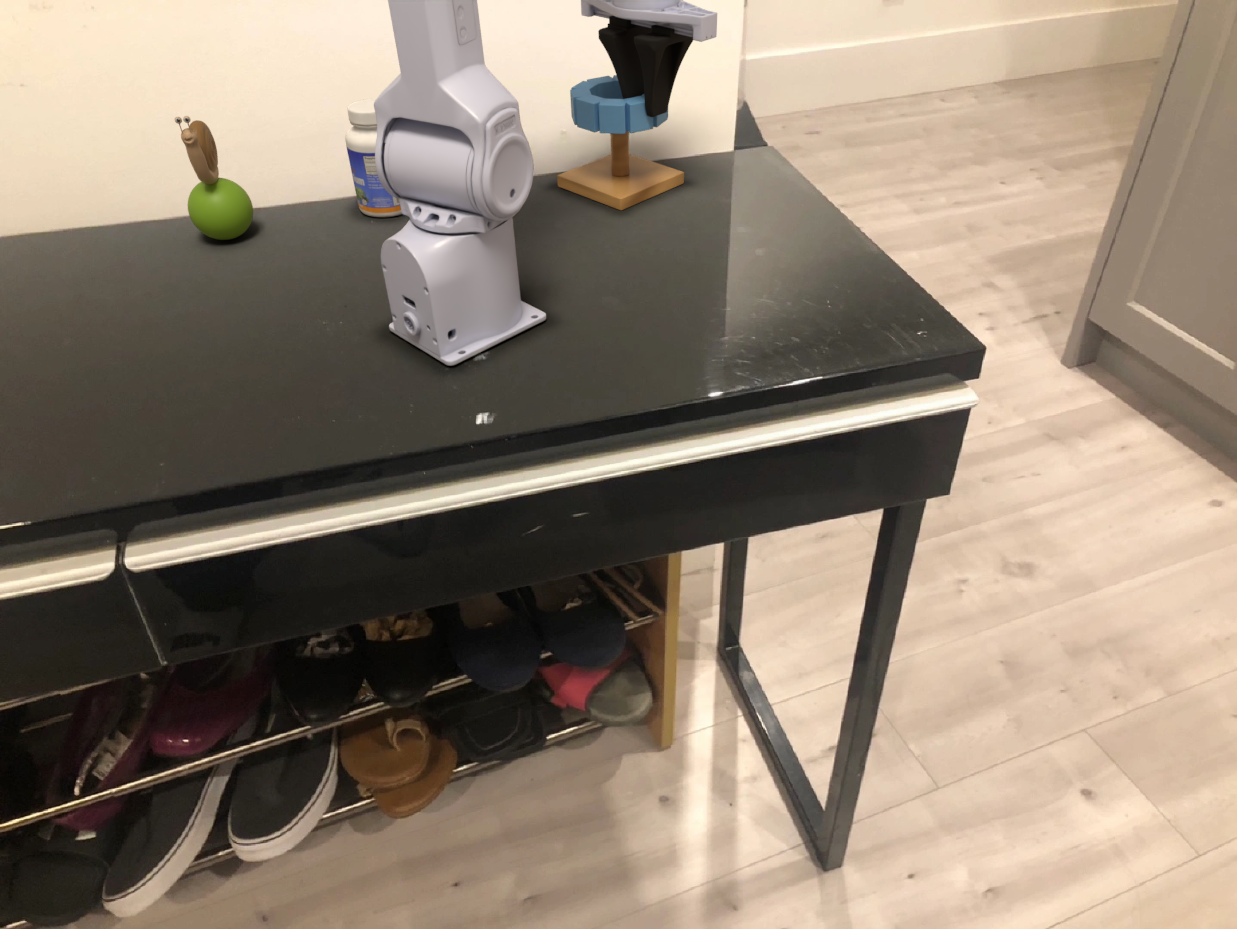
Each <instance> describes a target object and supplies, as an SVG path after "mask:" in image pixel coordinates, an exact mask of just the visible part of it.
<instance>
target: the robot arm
mask: <svg viewBox="0 0 1237 929" xmlns="http://www.w3.org/2000/svg"><path fill="white" fill-rule="evenodd" d="M387 2H388V8H389V14H390V20H391V25H392V26H391V27H392V31H393V36H394V42H395V48H396V54H397V60H398V65H399V72H400V73H399V74H398V75H397V76H396V77H395V78H394V79H393V80H392V81H391V82H390V83H389V84H388V85H387V87H385V89H384V90H382V91H381V93H380V94H379V95H378V96H377V97H376V98H375V99H376V100H375V102H374V109H375V114H376V121H377V139H376V147H375V164H376V170H377V174H378V177H379V180H380V182H381V184H382V186H383V187H384V189H385V190H386V191H387V192H388V193H389V194H390V195H392V196H393V197H395V198H397V199H399V201H400V206H401V212H402V214H401V215H403V216H407V217H408V218H409V219H408V221H407V222H406V224H404V226H403V227H402V228H401V229H400V230H399V231H397V232H396V233H395V234H393V235H392V236H390V237H388V238H386V240H384V242H382V245H381V248H380V264H381V269H382V275H383V280H384V285H385V289H386V295H387V300H388V304H389V310H390V314H391V319H392V322H390V323H389V325H388V329H389V331H390V332H391V333H393V334H395V335H396V336H398V337H400V338H401V339H403V340H404V341H406V342H408V343H410V344H411V345H413V346H415V347H416V348H418V349H420V350H421V351H423V352H424V353H426V354H428V355H429V356H430V357H432V358H435V359H436V360H438V361H439V362H441V363H442V364H443V365H446V366H448V367H449V366H450V367H452V366H456V365H458V364H460V363H462V362H464V361H466V360H468V359H470V358H472V357H474V356H476V355H478V354H480V353H481V352H484V351H486V350H488V349H491V348H492V347H494V346H496V345H498V344H501V343H502V342H505V341H507V340H508V339H511V338H512V337H514V336H517V335H518V334H521V333H522V332H525V331H526V330H529V329H530V328H533V327H534V326H536V325H538V324H540V323H543V322H544V321H546V320H547V313H546V312H545V311H542V310H541V309H539V308H537V307H535V306H532V305H531V304H529V303H526V302H525V301H523V300H522V297H521V288H520V278H519V267H518V259H517V257H518V256H517V249H516V241H515V240H516V239H515V238H516V237H515V230H514V220H513V218H514V217H515V216H516V215H517V213H520V211H521V209H522V207H524V206H523V205H524V204H525V203H526V201H527V199H528V197H529V195H530V192H531V189H532V185H533V182H534V181H533V180H534V172H535V171H534V170H535V168H534V165H535V164H534V163H535V162H534V156H533V153H532V149H531V144H530V142H529V140H528V138H527V136H526V134H525V132H524V129H523V125H522V120H521V115H520V104H519V102H518V100H517V98H516V97H515V96H514V95H513V94H512V93H511V92H510V90H508V88H506V87H505V85H504V84H503V83H502V82H501V81H500V80H499V79H498V78H497V77H496V76H495V75H494V74H493V73H492V72H491V71H490V69H489V68H488V67H487V66H486V64H485V54H484V46H483V39H482V31H481V23H480V14H479V13H480V12H479V5H478V0H387ZM580 11H581V16H583V17H587V18H592V17H594V16H595V17H599V18H602V19H603V18H604V19H608V23H607V26H605V27H602V28H600V29H599V30H598V33H597V34H598V40H599V41H600V43H601V45H602V46H603V48H604V49H605V51H606V53H607V55H608V57H609V59H610V62H611V64H612V67H613V69H614V72H615V75H617V78H618V81H619V85H620V89H621V92H622V96H623V99H627V98H632V97H638V96H642V95H643V94H644V98H645V108H646V113H647V116H650V117H655V116H658V115H661V114H663V113H666V112H667V109H668V110H669V103H670V99H671V95H672V92H673V87H674V85H675V81H676V78H677V75H678V72H679V69H680V67H681V65H682V62H683V60H684V58H685V56H686V54H687V52H688V50H689V48H690V47H691V45H692V43H693V42H694V41H695V42H700V43H702V42H705V41H709V40H712V39H715V38H717V32H718V12H716V11H713V10H708V9H706V8H702V7H700V6H697V5H695V4H692V3H690V2H688V1H685V0H580Z"/></svg>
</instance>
